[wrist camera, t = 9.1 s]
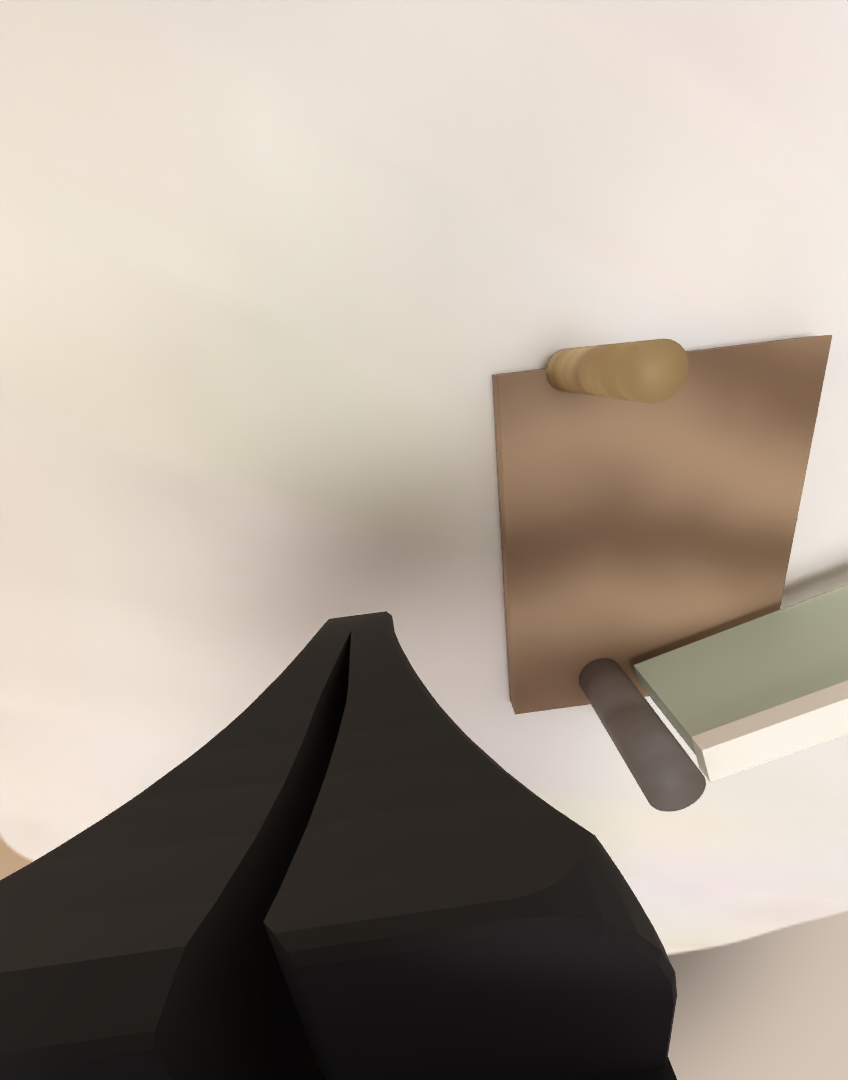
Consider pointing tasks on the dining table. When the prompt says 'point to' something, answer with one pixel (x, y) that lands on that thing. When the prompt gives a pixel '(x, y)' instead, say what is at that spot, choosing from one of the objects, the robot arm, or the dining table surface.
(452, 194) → the dining table surface
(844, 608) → the gate leaf
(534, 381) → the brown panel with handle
